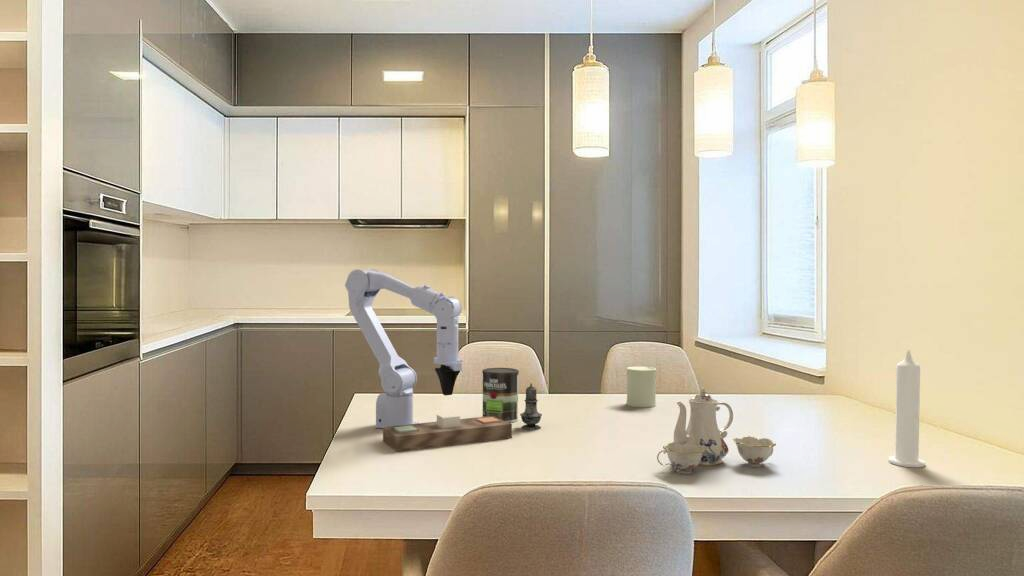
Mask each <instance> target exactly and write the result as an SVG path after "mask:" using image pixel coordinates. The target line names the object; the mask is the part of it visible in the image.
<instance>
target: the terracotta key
mask: <svg viewBox="0 0 1024 576" xmlns="http://www.w3.org/2000/svg"><path fill="white" fill-rule="evenodd" d="M477 422H479V423H482V424H490V423H499V422H500V420H498V419H495V418H493V417H489V418H480V419H477Z"/></svg>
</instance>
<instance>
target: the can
mask: <svg viewBox="0 0 1024 576" xmlns="http://www.w3.org/2000/svg"><path fill="white" fill-rule="evenodd" d="M656 375H657V368H656V367H651V366H641V365H640V366H636V365H634V366H628V367H626V403H625V404H626V405H627V406H628V407H633V408H643V409H644V408H654V407H656V406H657V402H656V401H657V400H656V393H657V392H656V389H657V387H656V384H657V383H656Z"/></svg>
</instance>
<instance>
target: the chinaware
mask: <svg viewBox="0 0 1024 576" xmlns="http://www.w3.org/2000/svg"><path fill="white" fill-rule="evenodd" d="M687 400H688V403H689V406H690V407H689V410H690V412H689V421H688V425H687V424H686V423H687V408H686V405H685V404H684V403H683V402H681V401H678V402H676V405H678V408H679V413H678V418H677V421H676V425H675V427H674V431H673V441H671V442H669V443H667V445H663V446H662V448H663V450H660V451H658V452H657V456H656V460H657V462H658V464H659V465H661V466H668V465H670V467H669V469H670V470H673V469H676V473H678V474H684V475H690V474H693V472H692V470H694V469H696V467H698V466H718V465H721V464H722V463H723V458H725V457H726V456H727V455H728V453H729V447H728V444H727V443H726V442H725V438H726V437H727V436H728V431H727V429H729V428H730V426H731V424H732V423H733V421H734V413H733V409H732V407H731V406H730V405H729V404H728V403H726V402H723V401H719V400H718V399H714V398H712V396H711V395H710V394H708V392H707V390H706V388H705V387H702V388H701V389H700V391H699V393H696V395H695V396H694V397H693V398H692V397H691V398H689V399H687ZM719 405H722V406H725V407H726V408H727V410H728V413H729V415H728V416H729V418H728V421H727V423H726V425H725V426H724V427H722V428H720V429H719V426H718V422H717V412H718V411H720V410H721V407H720V406H719ZM686 426H687V427H686ZM732 440H733V442H734V443H735V445H736V447H737V451H738V454H739V456H740V457H741V458H742V459H743V460H744V461H745V462H747V463H746V464H745V465H747V466H749V467H756V468H757V467H758V468H761V467H762V466H763V463H764V462H766V461H767V460H768V459H769V457H771V456H772V455H773V453H774V447H776V446H777V444H776V442H773V440H772V439H770V438H765V437H764V438H759V439H758V438H757V437H754V436H750V435H747V436H746V435H745V436H743V437H742V438H738V437H734V438H733V439H732ZM662 452H663V455H665V454H666V455H667V459H668V461H669V462H668V463H663V462H661V461H660V459H659V457H660V455H661V453H662Z"/></svg>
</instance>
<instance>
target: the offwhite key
mask: <svg viewBox="0 0 1024 576" xmlns="http://www.w3.org/2000/svg"><path fill="white" fill-rule="evenodd" d="M460 419H461V416H460V415H458V414H456V413H453V412H451V413H441V414H436V422H437V426H438V427H440V428H442V429H444V428H453V427H460Z"/></svg>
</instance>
